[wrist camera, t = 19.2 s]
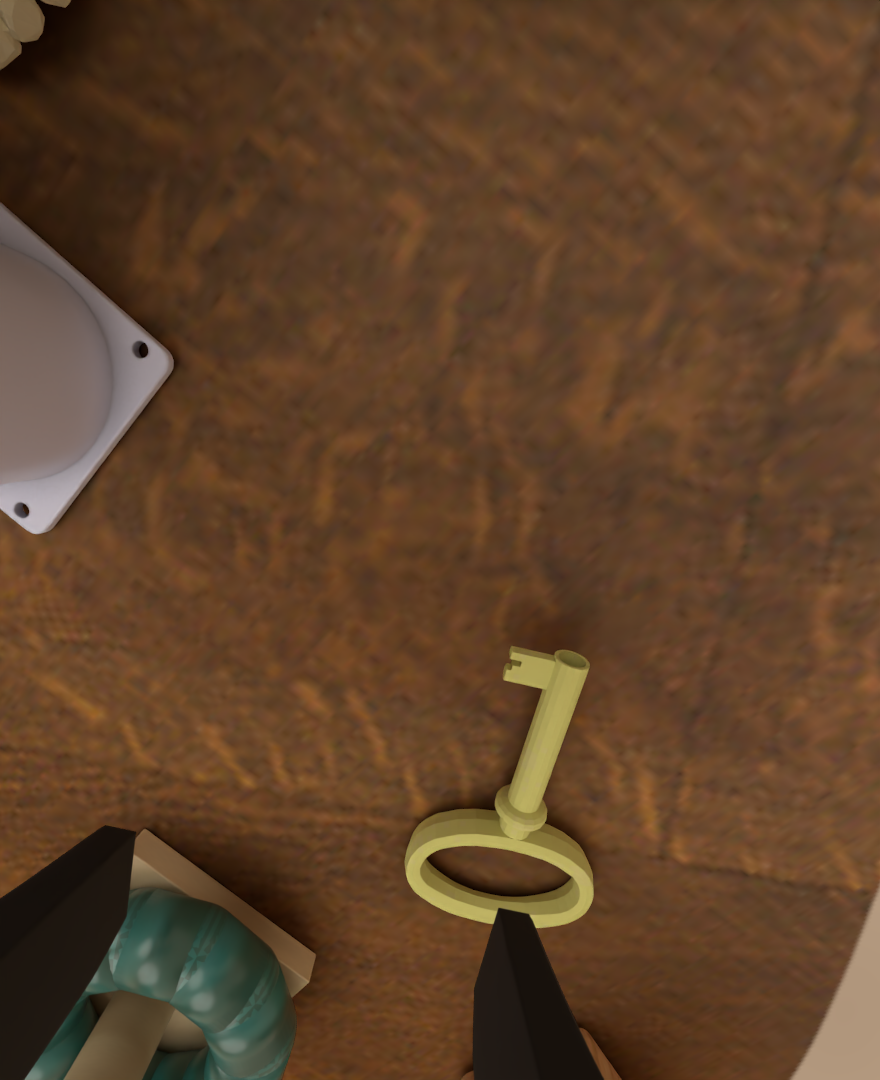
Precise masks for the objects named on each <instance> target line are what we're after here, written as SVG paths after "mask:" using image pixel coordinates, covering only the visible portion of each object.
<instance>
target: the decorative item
mask: <svg viewBox="0 0 880 1080" xmlns="http://www.w3.org/2000/svg"><path fill="white" fill-rule="evenodd" d="M579 1029H580V1031H581V1033H582V1035H583V1037H584V1039H585V1041H586V1044H587V1046H588V1048H589V1050H590V1052H591V1054H592V1056H593V1058H594V1060H595V1062H596V1064H597V1066H598V1068H599V1070H600V1072H601V1074H602V1076H603V1078H604V1080H622V1079H621V1078H620V1076H619V1075H618V1074H617V1072H616V1071H615V1069H614V1068H613V1067H612V1065H611V1064H610V1062H609V1061H608V1059H607V1058H606V1057H605V1055H604V1054H603V1052H602V1051H601V1050H600V1048H599V1047H598V1045H597V1044H596V1042H595V1041H594V1040H593V1038H592V1037H591V1035H590V1034H589V1033H588V1031H586V1030H585V1029H583V1028H579ZM460 1080H474V1071H471V1072H469V1073H466V1074H465V1075H464V1076H463V1077H462V1078H461V1079H460Z"/></svg>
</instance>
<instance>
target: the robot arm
mask: <svg viewBox="0 0 880 1080" xmlns="http://www.w3.org/2000/svg"><path fill="white" fill-rule="evenodd" d="M143 343H145V344H146V345H147V346H148V351H149V352H148V355H147V356H146V357H145V358H142V357H141V355H140V354H139V347H140V345H141V344H143ZM173 368H174V360H173V357H172V355H171V353H170V352H169V351H168V350H167V349H166V348H165V347H164V346H163V345H162V344H161V343H159V342H158V341H157V340H156V339H155V338H154V337H153V336H151V335H150V334H149V333H148V332H147V331H146V330H145V329H144V328H142V327H141V326H140V325H139V324H138V323H137V322H136V321H134V320H133V319H132V318H131V317H130V316H129V315H128V314H127V313H125V312H124V311H123V310H122V309H121V308H120V307H119V306H117V305H116V304H115V303H114V302H113V301H112V300H111V299H110V298H108V297H107V296H106V295H105V294H104V293H103V292H102V291H100V290H99V289H98V288H97V287H96V286H95V285H94V284H93V283H91V282H90V281H89V280H88V279H87V278H86V277H85V276H84V275H82V274H81V273H80V272H79V271H78V270H77V269H76V268H74V267H73V266H72V265H71V264H70V263H69V262H68V261H67V260H65V259H64V258H63V257H62V256H61V255H60V254H59V253H57V252H56V251H55V250H54V249H53V248H52V247H51V246H50V245H48V244H47V243H46V242H45V241H44V240H43V239H42V238H40V237H39V236H38V235H37V234H36V233H35V232H34V231H33V230H31V229H30V228H29V227H28V226H27V225H26V224H25V223H23V222H22V221H21V220H20V219H19V218H18V217H17V216H16V215H14V214H13V213H12V212H11V211H10V210H9V209H8V208H6V207H5V206H4V205H3V204H2V203H1V202H0V509H1V510H2V511H3V512H5V513H6V514H7V515H8V516H10V517H11V518H12V519H13V520H15V521H16V522H17V523H18V524H20V525H21V526H22V527H23V528H25V529H26V530H27V531H29V532H31V533H33V534H41V533H45V532H48V531H50V530H51V529H53V528H54V526H55V525H56V524H57V522H58V521H59V520H60V518H61V517H62V516H63V514H64V513H65V512H66V511H67V509H68V508H69V507H70V505H71V504H72V503H73V501H74V500H75V499H76V497H77V496H78V495H79V493H80V492H81V491H82V489H83V488H84V487H85V486H86V484H87V483H88V482H89V480H90V479H91V478H92V476H93V475H94V474H95V472H96V471H97V470H98V468H99V467H100V466H101V464H102V463H103V462H104V460H105V459H106V458H107V457H108V455H109V454H110V453H111V451H112V450H113V449H114V447H115V446H116V445H117V443H118V442H119V441H120V439H121V438H122V437H123V435H124V434H125V433H126V432H127V430H128V429H129V428H130V426H131V425H132V424H133V422H134V421H135V420H136V418H137V417H138V416H139V414H140V413H141V412H142V410H143V409H144V408H145V407H146V405H147V404H148V403H149V401H150V400H151V399H152V397H153V396H154V395H155V393H156V392H157V391H158V389H159V388H160V387H161V385H162V384H163V383H164V381H165V380H166V379H167V378H168V376H169V375H170V374H171V372H172V370H173ZM23 504H26V505H27V507H28V508H29V515H27V514H26V513H25V512H24V510H23ZM135 837H136V832H134V831H130V830H125V829H120V828H115V827H110V826H106V825H105V826H103V827H102V828H100V829H98V830H97V831H96V832H94V833H93V834H91V835H90V836H88V837H87V838H86V839H84V840H83V841H81V842H80V843H79V844H77V845H76V846H74V847H73V848H72V849H70V850H69V851H68V852H66V853H65V854H63V855H62V856H61V857H59V858H58V859H56V860H55V861H54V862H52V863H51V864H49V865H48V866H47V867H45V868H44V869H42V870H41V871H39V872H38V873H37V874H35V875H34V876H32V877H31V878H29V879H28V880H27V881H25V882H24V883H22V884H21V885H19V886H18V887H16V888H15V889H14V890H12V891H11V892H9V893H8V894H6V895H5V896H3V897H2V898H0V1080H25V1078H26V1077H27V1075H28V1074H29V1072H30V1071H31V1069H32V1068H33V1066H34V1065H35V1063H36V1062H37V1061H38V1059H39V1058H40V1056H41V1055H42V1053H43V1052H44V1050H45V1049H46V1047H47V1046H48V1044H49V1043H50V1041H51V1040H52V1038H53V1037H54V1035H55V1034H56V1033H57V1031H58V1030H59V1028H60V1027H61V1025H62V1024H63V1022H64V1021H65V1019H66V1018H67V1016H68V1015H69V1013H70V1012H71V1010H72V1009H73V1007H74V1006H75V1004H76V1003H77V1001H78V1000H79V998H80V997H81V995H82V994H83V992H84V991H85V989H86V988H87V986H88V985H89V983H90V982H91V980H92V979H93V977H94V975H95V973H96V972H97V970H98V968H99V966H100V965H101V963H102V961H103V959H104V957H105V956H106V954H107V952H108V950H109V949H110V947H111V945H112V943H113V941H114V939H115V937H116V935H117V934H118V932H119V930H120V928H121V926H122V924H123V922H124V921H125V919H126V917H127V909H128V900H129V891H130V882H131V873H132V864H133V855H134V846H135ZM473 1071H474V1080H604V1078H603V1076H602V1074H601V1072H600V1070H599V1068H598V1066H597V1064H596V1062H595V1060H594V1058H593V1056H592V1054H591V1052H590V1050H589V1048H588V1046H587V1044H586V1041H585V1039H584V1037H583V1035H582V1033H581V1031H580V1029H579V1027H578V1025H577V1022H576V1020H575V1018H574V1016H573V1014H572V1012H571V1010H570V1008H569V1005H568V1003H567V1001H566V999H565V996H564V994H563V992H562V990H561V987H560V985H559V983H558V981H557V978H556V976H555V974H554V971H553V969H552V967H551V964H550V962H549V959H548V957H547V955H546V952H545V950H544V947H543V945H542V942H541V940H540V937H539V935H538V932H537V930H536V927H535V925H534V922H533V920H532V918H531V917H530V915H529V914H527V913H522V912H518V911H513V910H508V909H503V908H498V911H497V914H496V917H495V921H494V924H493V927H492V931H491V934H490V937H489V941H488V944H487V947H486V951H485V954H484V957H483V961H482V964H481V967H480V971H479V974H478V977H477V981H476V984H475V987H474V1014H473Z"/></svg>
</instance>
